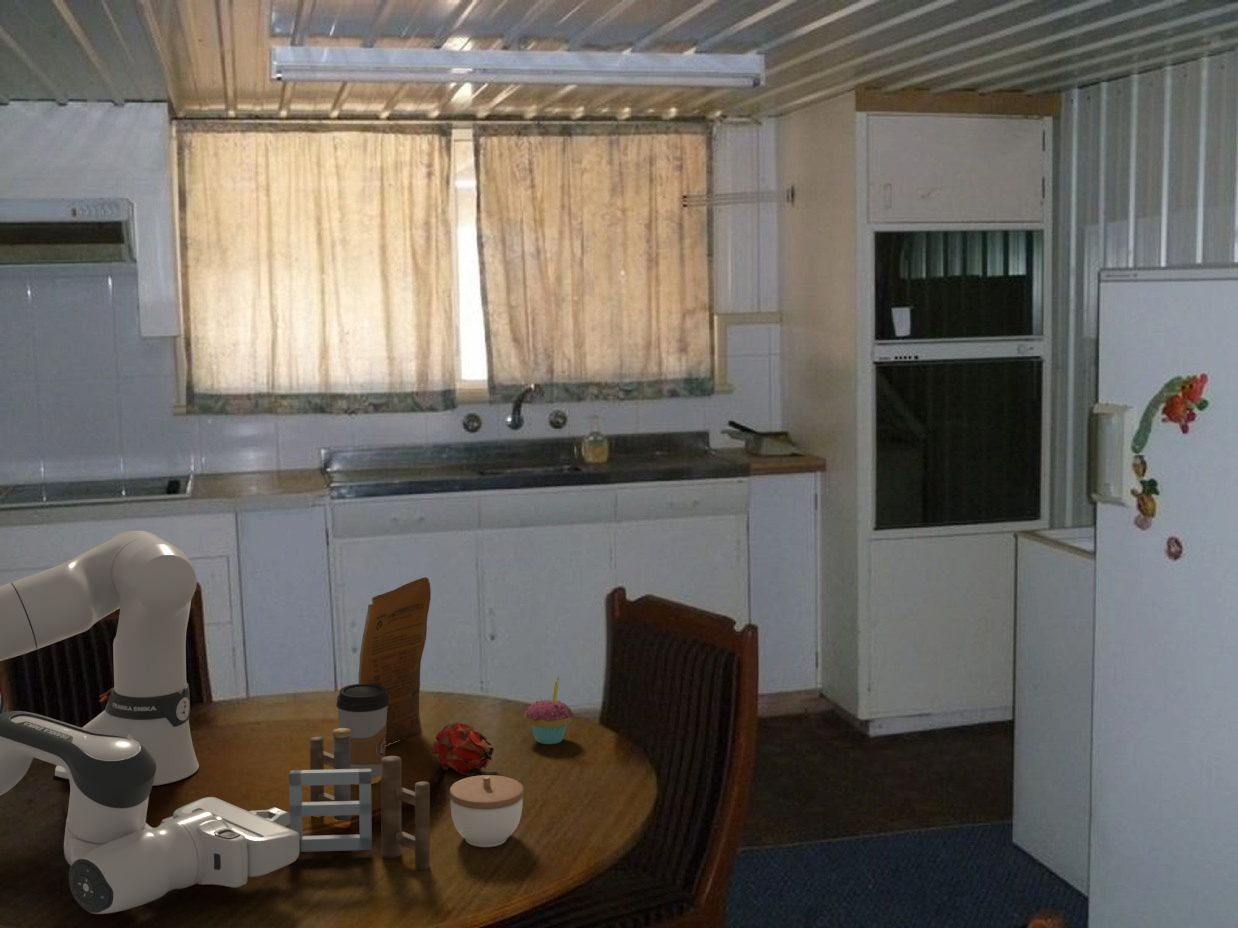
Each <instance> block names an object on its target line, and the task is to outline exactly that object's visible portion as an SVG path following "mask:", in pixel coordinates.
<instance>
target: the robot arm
mask: <svg viewBox="0 0 1238 928" xmlns="http://www.w3.org/2000/svg"><path fill="white" fill-rule="evenodd" d="M196 574H197V573H196V571H195V569H194V566H193V564H192V562H191V560H190V559H189V557H188V555H187V554H186V553H185V552H184V551H182V550H181V549H180V548H178V547H177V546H174V545H173V544H172V543H169V542H168V541H166V540H164V539H162V538H161V537H159V536H157V535H155V534H154V533H151V532H150V531H144V530H127V531H124V532H120V533H118V534H115V535H114V536H112V537H111V538H110V539H108V541H105V542H103V543H101V544H98V545H97V546H95V547H93V548H91V549H89V550H87V551H85V552H83V553H81V554H79V555H78V556H75V557H74V558H72V559H69V560H67V561H65V562H64V563H61V564H59V565H56V566H54V567H50V568H48V569H45V570H42V571H39V572H37V573H33V574H32V575H31V574H30V575H27V576H25V577H22V578H19V579H17V580H14V581H11V582H8V583H6V584H3V585H0V661H4V660H9V659H12V658H15V657H18V656H22V655H25V654H29V653H30V652H33V651H36V650H38V649H41V648H45V647H47V646H50V645H52V644H56V643H57V642H61V641H63V640H65V639H68V638H71V637H73V636H76V635H79V634H82V633H85V632H87V631H88V630H90V628H92V627H93V626H94V625H95V624H96V623H97V622H99V621H100V620H102V619H104V618H105V617H107V616H108V615H111V614H112V613H114V612H116V611H117V610H119V614H118V615H119V616H118V623H117V630H116V635H115V637H114V639H113V643H112V647H113V648H112V649H113V650H112V651H113V653H112V654H113V656H112V657H113V678H114V679H113V681H114V682H113V683H114V687H112V688H110V689H108V690H107V691H106V692H105V693H103V694H101V695H99V698H101V699H99V703H102V702H104V701H106V700H107V703H106V705H105V709H104V710H103V711H102V712H101V713H99V714H98V715H97V716H95V717H94V718H93V719H91V720H90V721H89V722H88V723H86V724H85V725H84V726H82V727H80V726H77V725H73V724H70V723H67V722H65V721H62V720H58V719H54V718H52V717H49V716H45V715H42V714H40V713H39V714H38V713H35V712H34V713H33V712H31V711H30V712H29V711H22V710H12V711H10V710H9V711H5V702H4V698H3V695H2V694H1V693H0V796H2V795H4V794H5V793H7V792H9V791H10V790H11V789H12V788H13V787H15V786H16V785H17V784H19V782H20V781H21V780H22V779H23V778H24V776H25V775H26V774H27V772H28V770H29V768H30V766H31V764H32V762H33V761H34V758H35V759H39V760H41V761H43V762H47V763H49V764H53V765H55V769H54V776H55V777H59V778H62V779H65V780H68V781H69V786H70V791H69V799H68V810H67V817H66V822H65V823H66V824H65V829H64V831H65V832H64V838H63V855H64V859H65V861H66V862H67V864H68V865H69V867H70V868H69V870H68V885H69V888H70V892H71V894H72V896H73V898H74V899H75V901H76V902H77V903H78V905H79V906H80V907H81V908H83V909H84V910H85V911H87V912H88V913H90V914H95V915H103V914H113V913H118V912H122V911H127V910H130V909H133V908H137V907H139V906H140V907H141V906H142V905H145V904H148V903H151V902H153V901H156V900H159V898H160V899H161V898H162V897H163V896H165V895H166V894H167V893H169V892H171V891H172V890H177V889H178V890H180V889H181V890H182V889H186V888H188V887H192V886H193V885H196V884H198V885H199V886H200V885H203V886H204V885H205V886H206V885H216V886H224V887H227V888H228V887H230V888H240V887H242V886H244V885H246V884H247V883H248V878H257V877H261V876H264V875H268V874H269V873H272V872H275V871H277V870H279V869H282V868H284V867H286V866H288V865H290V864H293V863H294V862H296V861H297V859H298V858H299V856H300V853H301V852H300V841H299V833H298V832H296V831H294V830H291V829H290V827H287V826H288V825H290V812H288V811H286V810H283V809H280V808H278V807H276V806H274V807H271V808H269V809H260V810H259V809H258V810H257V809H256V810H250V811H248V810H247V809H243V808H241V807H239V806H237V805H234V804H231V803H229V802H227V801H224V800H222V799H220V798H217V797H216V796H215V797H214V796H207V797H206V796H205V797H202V798H200V799H197V800H194V801H192V802H190V803H188V804H185V805H183V806H181V807H179V808H176V810H174V811H173V814H172V816H169V817H166V818H164V819H162V820H161V822H160V823H159V825H158V826H157V827H152V826H150V825H149V824H148V823H147V822H146V821H147V813H148V812H147V811H148V806H149V800H150V794H151V792H152V788H153V786H160V785H165V784H171V783H174V782H177V781H181V780H183V779H187V778H188V777H190V776H192V775H193V774H195V773H197V771H198V769H199V767H200V764H199V762H198V759H197V756H196V753H195V748H194V745H193V744H194V743H193V740H192V735H191V729H190V722H189V721H190V711H191V710H190V709H191V708H190V707H191V704H190V703H191V700H190V699H191V697H190V684H189V683H188V682H187V663H186V662H187V660H186V659H187V657H186V656H187V655H186V654H187V653H186V652H187V651H186V649H187V648H186V643H187V642H186V640H187V638H186V637H187V628H188V625H189V624H188V623H189V617H190V610H191V603H192V599H193V597H194V595H195V592H196V590H197V581H198V580H197V575H196Z"/></svg>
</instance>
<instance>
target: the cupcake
mask: <svg viewBox="0 0 1238 928" xmlns="http://www.w3.org/2000/svg"><path fill="white" fill-rule="evenodd" d="M559 678H560V676H557V679H556V680H555V682H554V687H553V695H552V700H550V699H541V700H536V701H535V702H533V703H532V704H530V705H529V706H528V707H527V709H525V713H524V717H523V720H524V721H525V723H527V724H528V725H530V728H531V730H532V732H533V736H534V739H535V741H536V742H537V743H538V744H543V745H555V744H559V743H561V742H562V741H563V738H564V735H565V734H566V733H565V732H566V730H567V728H568V725H569V724H571V723H572V719H573V718H574V712H573V711H572V710H571V708H570V707H569V706H568V705H566V703H565V702H562V701H560V700H558V699H557V697H558V693H559V692H558V691H559V684H560V681H559Z"/></svg>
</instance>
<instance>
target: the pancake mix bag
mask: <svg viewBox="0 0 1238 928" xmlns="http://www.w3.org/2000/svg"><path fill="white" fill-rule="evenodd" d="M431 593H432V589H431V583H430V579H429V578H428V577H427V576H426V577H425V576H424V577H422V578H418V579H415V580H413V581H410V582H408V583H404V584H403V585H401V586H399V587H397V588H395V589H393V590H390V591H387V592H385V593H381V594H377V595H375V596H373V597H371V601H372V603H371V604H368V607H367V613H366V618H365V623H364V630H363V634H362V637H361V638H362V639H361V645H360V650H359V651H360V653H359V665H358V666H359V668H358V677H357V678H358V683H357V684H363V683H368V684H377V685H381V686H383V687H384V688H385V691H386V694H388V701H389V704H388V706H387V721H386V725H387V730H386V745H388V744H389V743H393V742H395V741H398V740H401V741H403V740H402V739H404V738H406V739H408V738H410V737H412V736H415V735H418V734H420V733H421V732H422V723H421V717H420V693H421V692H420V691H421V689H420V688H421V687H420V686H421V666H422V665H421V663H422V657H423V654H424V649H425V645H426V640H427V629H428V626H427V625H428V618H429V617H428V616H429V610H430V605H431V599H432V598H431V595H432V594H431ZM404 740H405V739H404Z"/></svg>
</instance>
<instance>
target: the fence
mask: <svg viewBox="0 0 1238 928" xmlns="http://www.w3.org/2000/svg"><path fill="white" fill-rule="evenodd" d="M350 735H351V730H350V729H348V728H339V727H338V728H334V729H333V730H332V736H333V753H330V752H327V751H325V749H324V748H325V747H324V737H323V736H313V737H311V738H309V770H325V765H326V766H328V767H332V768H333V769H350ZM309 786H310V787H309V789H310V790H309V791H310V802H330V801H352V799H351V798H352V797H351V796H352V794H351V793H352V791H351V786H352V785H351V784H350V785H333V794H334V795H331V794H329V793H327V792H325V785H309ZM430 787H431V785H430V782H429V781H418V782H415V783H414V790H411V789H407V788H406V787H402V758H401V757H400V756H396V755H388V756H385V757H384V758H382V759H381V780H380V789H381V792H380V793H381V795H380V796H381V797H380V804H381V805H380V806H381V807H380V808H381V809H380V810H381V814H380V815H381V817H380V819H381V820H380V821H381V826H380V827H381V832H380V833H381V835H380V836H381V837H380V839H381V846H380V847H381V848H380V849H381V857H382V858H385V859H396V858H399V857H401V855H402V846H404V847H406V848H408V849H410V850H413V851H414V868H415V869H416V870H419V871H424V870H428V869H430V860H431V859H430V858H431V857H430V847H431V845H430V843H431V841H430V840H431V839H430V838H431V837H430V835H431V832H430V831H431V830H430V825H431V824H430V822H431V819H430V818H431V817H430V816H431V815H430V814H431V813H430V806H431V805H430V800H431V799H430V797H431V796H430V794H431V793H430V792H431V791H430V790H431V789H430ZM402 802H404V803H406V804H409V805H411V806H412V805H413V807H414V835H412V834H410V833H408V832H405V831H403V830H402ZM333 817H334V818H335V819H337V820H347V819H349V818H350V817H351V818H352V815H337V816H333Z"/></svg>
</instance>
